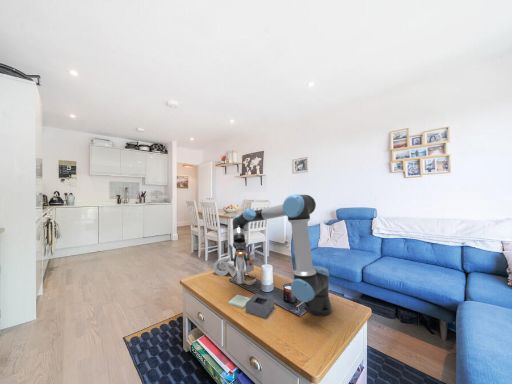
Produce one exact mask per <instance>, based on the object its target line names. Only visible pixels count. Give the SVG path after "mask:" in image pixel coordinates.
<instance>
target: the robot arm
mask: <svg viewBox="0 0 512 384" xmlns="http://www.w3.org/2000/svg"><path fill="white" fill-rule="evenodd" d="M316 207H317V206H316V201H315V198H314V197H312V196H311V195H308V194H292V195H288V196H287V197H285V199H284V200H283V203H282V204H278V205H274V206H270V207H266V208H263V209H256V210H255V209H253V208H251V207H248V208H246V209H244V211H243V212H242V213H241V214H240V215H239V214H236V215H234V216H233V217H232V237H233V238H232V240H233V243H232V244H228V249H229V251H230V252H229V253H230V256H231V257H230V260H231V261H234V268H235V270H236V273H238V264H237V255H236V254H235V252H236V251H238V250H243V251H245V248H246V251H247V257H246V255H244V274H246V266H247V261H249V259H250V252H251V251H250V249H251V248H250V247H251V244H247V243H246V235H245V234H246V233H245V226H246V225H248V224H249V223H253V222H259V221H261V222H262V221H266V220H270V219H275V218H280V217H287V221H288V222H289V223H290V224H291V233H292V234H291V235H292V242H293V252H294V260H295V262H294V263H295V270H294V271H293V280H292V282H291V284H290V289H291V293H292V294H293V296H294V298H295V299H296V300H298V301H300V302H303V308H304V307H305V308H306V309H307V310H306V309H305V308H304V309H305V310H306V312H308V313H310V314H312V315H315V316H328V315H330V314H331V313H332V302H331V300H330V297H329V293H330V291H329V289H330V271H329V269H328V268H326V267H323V266H320V265H313V260H312V259H313V258H312V252H311V251H312V249H311V242H310V232H309V225H308V223H309V221H310V220H311V215H312V213H314V211H315V209H316ZM233 248H234V249H235V251H233ZM233 252H234V253H233ZM233 254H234V256H233Z"/></svg>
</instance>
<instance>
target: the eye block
mask: <svg viewBox="0 0 512 384" xmlns="http://www.w3.org/2000/svg"><path fill="white" fill-rule="evenodd" d="M250 298H251V299H250V300H249V301H248V302H247V303H246V306H245V313H246V314H249V315H253V316H255V317H259V318H262V319H264V320H266V319H267V318H268V317H269V315H270V314H271V313H272V311H273V310H274V308H275V298H273V297H269V296H266V295H261V294H258V293H254V295H252V297H250Z"/></svg>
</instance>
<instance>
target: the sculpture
mask: <svg viewBox="0 0 512 384" xmlns="http://www.w3.org/2000/svg"><path fill="white" fill-rule="evenodd" d="M212 268H213V271H214V273H215V274H216V275H217V276H220V277H224V276H227V274H230V276H231V277H232V278H235V277H234V276H237V273H236V267H234V261H231V256H230V255H226V256H223V257H221V258H219V259H217V260H216V261H215V262H214V263H213V266H212Z"/></svg>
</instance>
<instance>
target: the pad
mask: <svg viewBox="0 0 512 384" xmlns="http://www.w3.org/2000/svg"><path fill="white" fill-rule="evenodd" d="M251 298H252V297H248V296H244V295H241V294H240V295H239V294H236V295H235V296H234V297H233V298H231V299H230V300H229V301H228V302H227V303H228V305H230V306H234V307H238V308H241V309H244V308H246V303H247V302H248V301H249V300H250V299H251Z"/></svg>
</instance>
